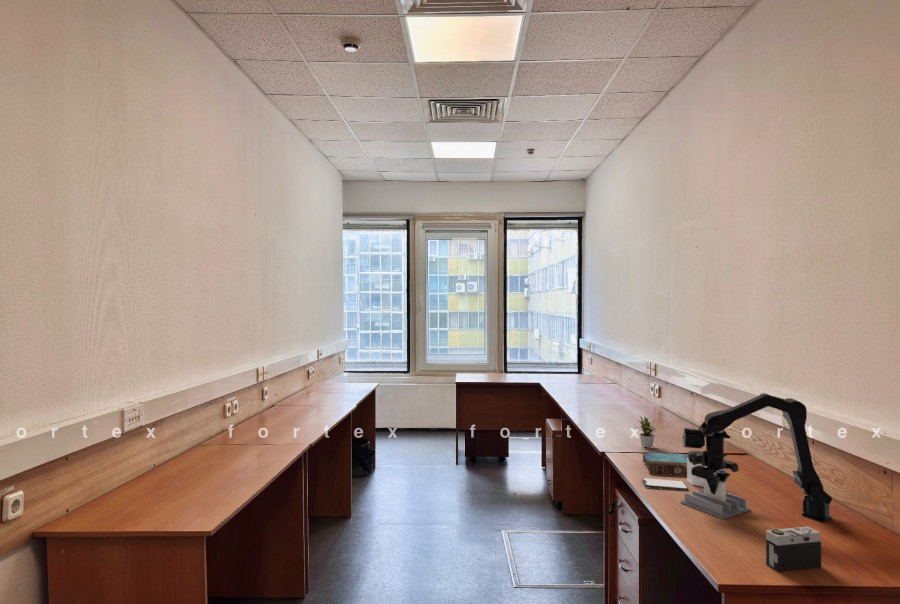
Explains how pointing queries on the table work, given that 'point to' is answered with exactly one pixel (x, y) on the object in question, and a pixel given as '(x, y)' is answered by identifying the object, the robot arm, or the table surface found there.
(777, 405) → the robot arm
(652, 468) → the brown teal box
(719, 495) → the white slab
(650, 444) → the house plant
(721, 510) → the dish rack
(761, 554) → the table surface
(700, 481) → the jar
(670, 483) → the phone case
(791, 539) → the camera
